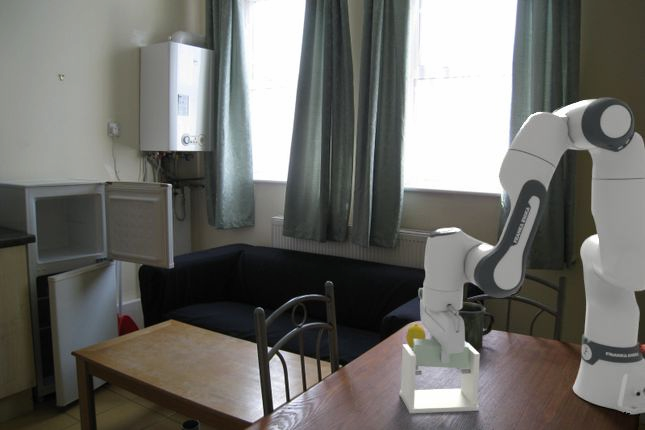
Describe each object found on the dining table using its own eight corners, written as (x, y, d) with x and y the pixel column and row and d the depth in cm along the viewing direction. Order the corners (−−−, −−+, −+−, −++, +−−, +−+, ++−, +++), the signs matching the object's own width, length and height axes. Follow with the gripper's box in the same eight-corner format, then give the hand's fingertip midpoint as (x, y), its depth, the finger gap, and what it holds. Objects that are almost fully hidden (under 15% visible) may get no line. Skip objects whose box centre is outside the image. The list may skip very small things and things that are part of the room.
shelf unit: (463, 392, 125) (466, 341, 124) (478, 410, 116) (481, 355, 115) (399, 394, 123) (401, 342, 122) (410, 413, 115) (412, 357, 113)
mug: (440, 339, 161) (442, 302, 160) (484, 337, 163) (486, 301, 162) (453, 352, 151) (455, 312, 149) (500, 350, 152) (502, 311, 151)
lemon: (424, 354, 149) (425, 327, 148) (405, 352, 150) (406, 326, 149) (425, 347, 154) (426, 321, 153) (406, 345, 155) (407, 320, 154)
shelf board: (414, 365, 117) (415, 344, 117) (412, 359, 121) (413, 338, 121) (467, 368, 116) (468, 347, 116) (464, 361, 120) (465, 340, 120)
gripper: (474, 312, 107) (471, 375, 109) (441, 287, 127) (438, 340, 129) (444, 313, 106) (442, 376, 108) (416, 287, 127) (414, 341, 128)
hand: (440, 356), depth 119 cm, fingers closed on shelf board, 4 cm apart
